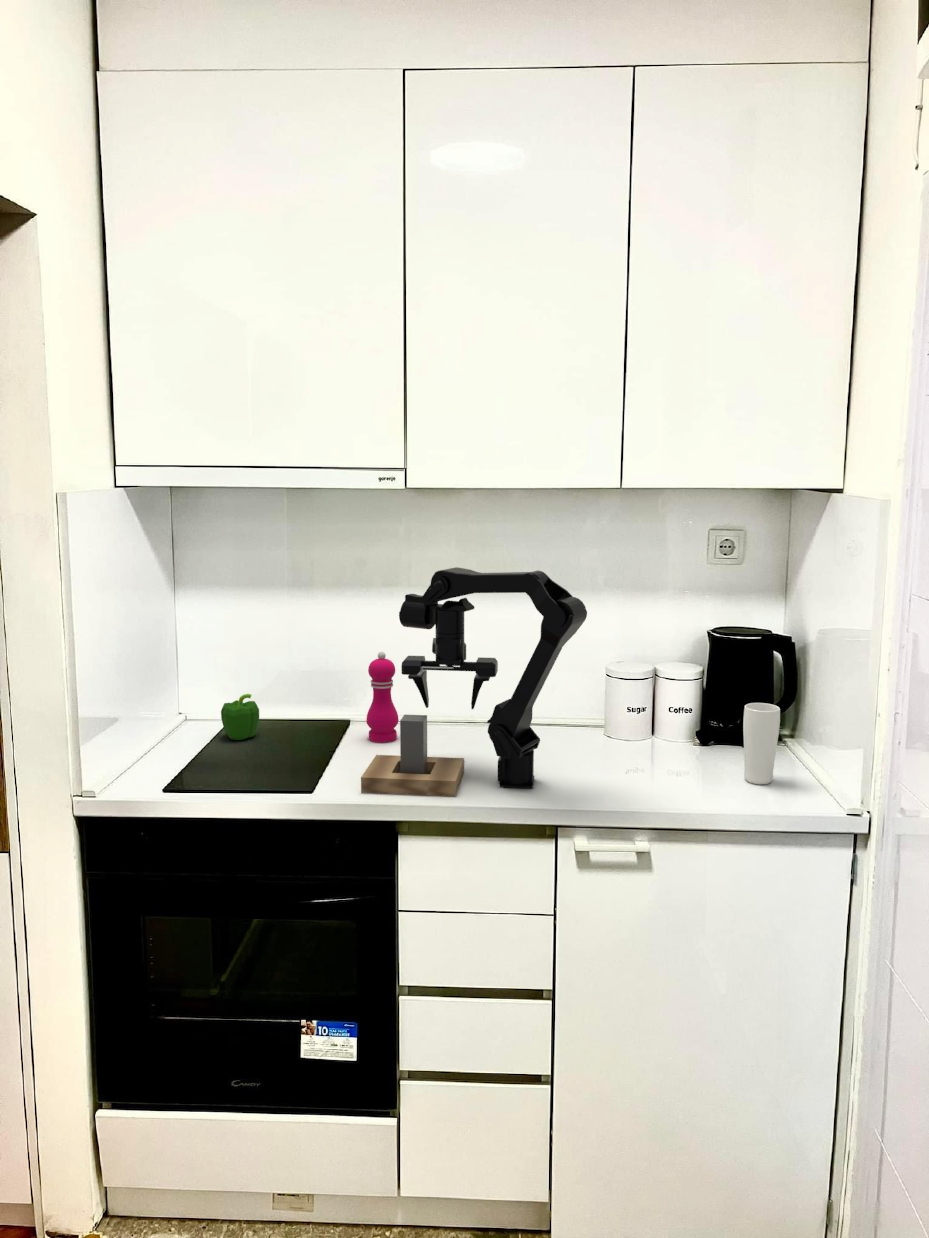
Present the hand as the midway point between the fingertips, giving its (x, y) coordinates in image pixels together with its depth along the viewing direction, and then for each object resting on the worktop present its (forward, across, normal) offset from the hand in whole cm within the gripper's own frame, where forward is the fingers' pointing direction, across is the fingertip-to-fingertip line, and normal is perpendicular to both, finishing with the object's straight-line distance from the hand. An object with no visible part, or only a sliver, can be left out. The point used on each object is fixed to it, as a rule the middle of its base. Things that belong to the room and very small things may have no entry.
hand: (449, 708), depth 194 cm
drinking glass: (+13, -61, -1) cm, 62 cm away
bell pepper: (+13, +50, -17) cm, 54 cm away
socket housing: (+13, +6, +8) cm, 16 cm away
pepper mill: (+13, +18, -20) cm, 30 cm away
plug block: (+13, +6, +8) cm, 16 cm away
